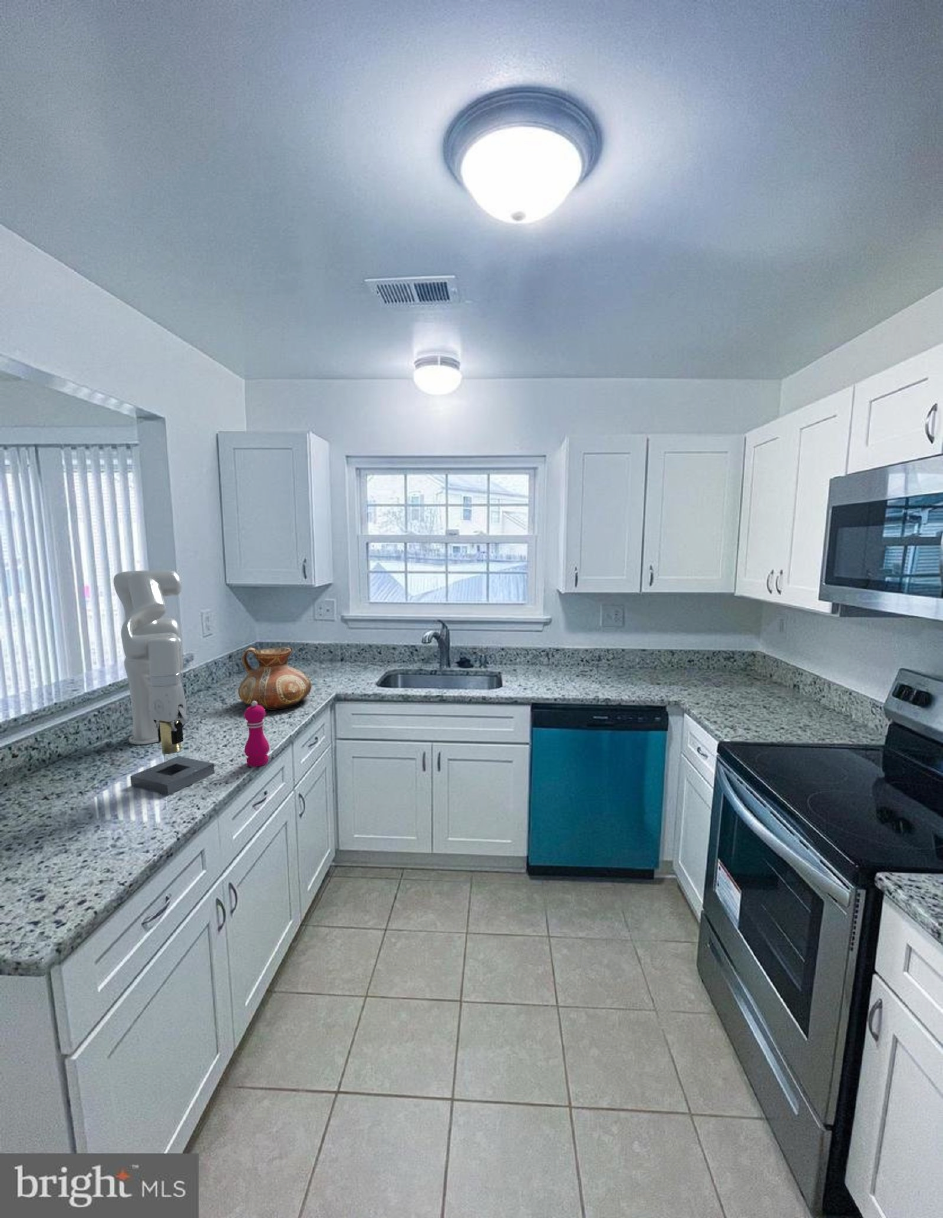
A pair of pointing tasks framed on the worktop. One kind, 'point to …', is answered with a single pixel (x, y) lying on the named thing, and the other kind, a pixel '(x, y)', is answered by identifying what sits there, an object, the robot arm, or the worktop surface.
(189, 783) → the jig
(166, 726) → the cylinder
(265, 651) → the jug
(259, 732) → the pepper mill
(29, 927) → the worktop surface
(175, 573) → the robot arm
